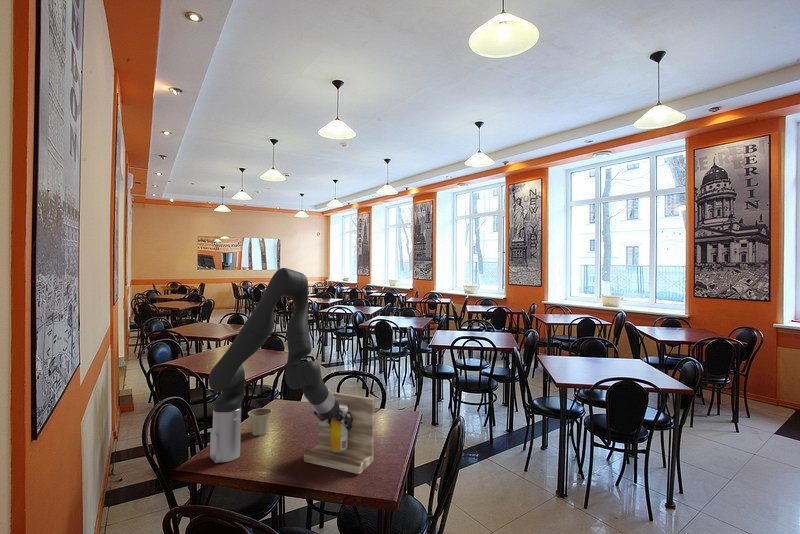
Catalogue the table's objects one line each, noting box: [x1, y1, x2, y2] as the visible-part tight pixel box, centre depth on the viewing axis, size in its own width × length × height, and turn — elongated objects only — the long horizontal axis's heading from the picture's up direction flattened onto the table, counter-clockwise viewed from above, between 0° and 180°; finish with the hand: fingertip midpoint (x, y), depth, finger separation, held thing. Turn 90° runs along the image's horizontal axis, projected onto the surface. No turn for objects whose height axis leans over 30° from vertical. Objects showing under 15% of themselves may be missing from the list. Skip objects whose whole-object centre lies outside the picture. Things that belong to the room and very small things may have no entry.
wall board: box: [303, 391, 376, 475], centre depth 144 cm, size 11×22×22 cm, turn 68°
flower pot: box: [247, 407, 273, 437], centre depth 167 cm, size 9×9×9 cm
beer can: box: [330, 404, 348, 452], centre depth 143 cm, size 6×6×15 cm
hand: (341, 426), depth 145 cm, fingers closed on beer can, 6 cm apart
